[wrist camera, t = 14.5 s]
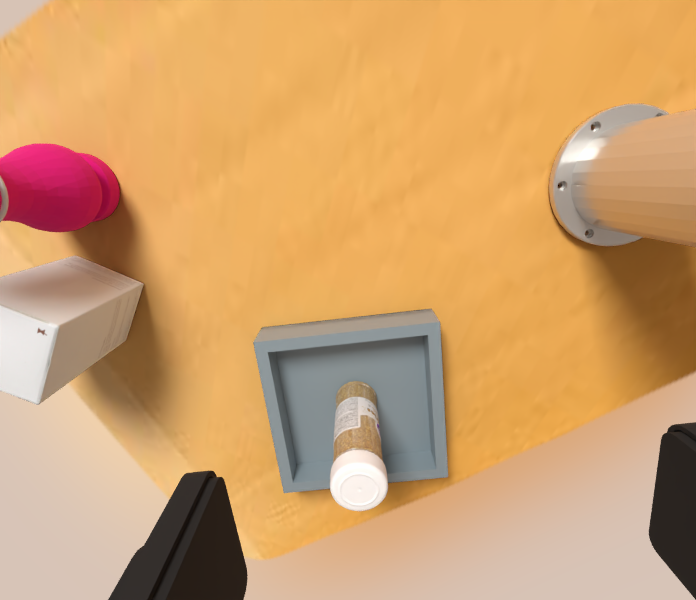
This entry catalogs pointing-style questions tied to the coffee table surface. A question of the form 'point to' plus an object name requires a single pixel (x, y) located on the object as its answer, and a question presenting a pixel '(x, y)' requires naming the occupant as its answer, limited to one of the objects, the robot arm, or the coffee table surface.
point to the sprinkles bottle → (357, 449)
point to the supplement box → (60, 323)
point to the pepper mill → (55, 188)
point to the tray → (346, 366)
